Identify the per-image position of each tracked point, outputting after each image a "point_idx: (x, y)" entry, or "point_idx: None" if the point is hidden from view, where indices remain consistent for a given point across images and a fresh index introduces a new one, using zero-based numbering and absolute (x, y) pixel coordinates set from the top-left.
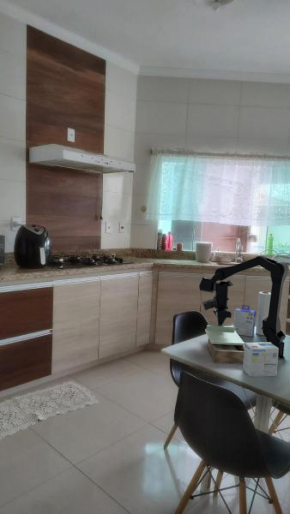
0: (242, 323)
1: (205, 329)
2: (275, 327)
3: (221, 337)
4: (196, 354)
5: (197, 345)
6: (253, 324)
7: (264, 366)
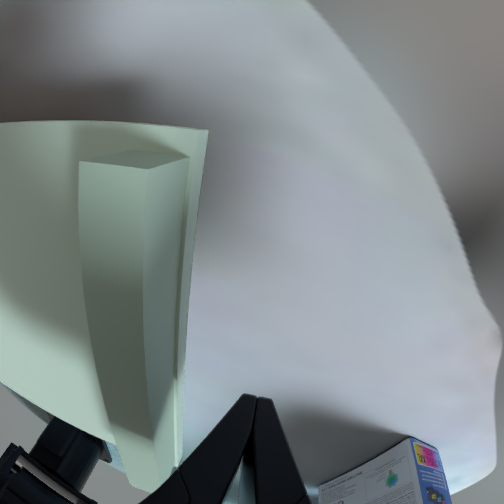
0: None
1: (176, 127)
2: None
3: None
4: (12, 33)
5: (150, 35)
6: None
7: None
